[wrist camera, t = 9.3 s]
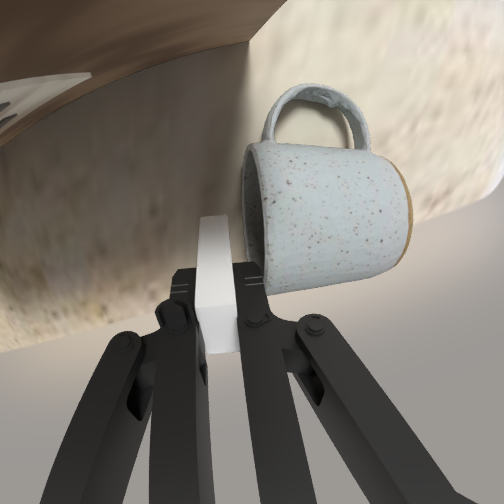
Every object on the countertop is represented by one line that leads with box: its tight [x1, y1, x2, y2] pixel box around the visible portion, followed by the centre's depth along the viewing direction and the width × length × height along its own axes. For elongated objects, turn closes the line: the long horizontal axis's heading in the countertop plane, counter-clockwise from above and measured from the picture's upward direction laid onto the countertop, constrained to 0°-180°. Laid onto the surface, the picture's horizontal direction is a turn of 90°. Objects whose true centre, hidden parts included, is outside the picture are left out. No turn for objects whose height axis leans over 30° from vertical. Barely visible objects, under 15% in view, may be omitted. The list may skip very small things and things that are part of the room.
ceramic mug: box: [242, 84, 413, 296], centre depth 14 cm, size 11×8×8 cm
